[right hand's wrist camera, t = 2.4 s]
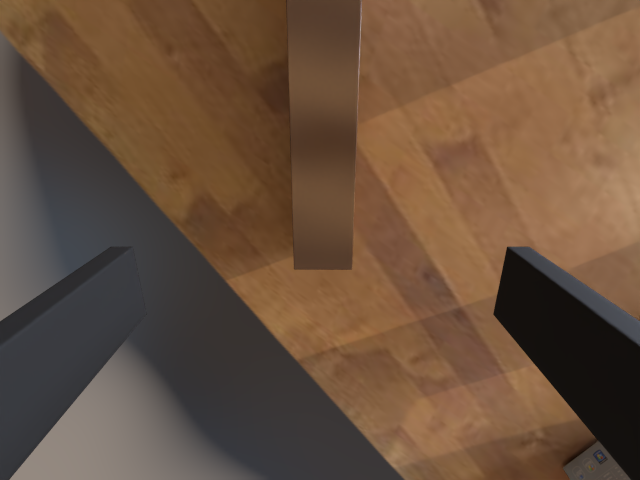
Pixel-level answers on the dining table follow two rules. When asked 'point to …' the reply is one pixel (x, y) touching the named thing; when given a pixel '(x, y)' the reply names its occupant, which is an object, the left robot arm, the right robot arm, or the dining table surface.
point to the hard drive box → (595, 466)
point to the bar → (323, 128)
